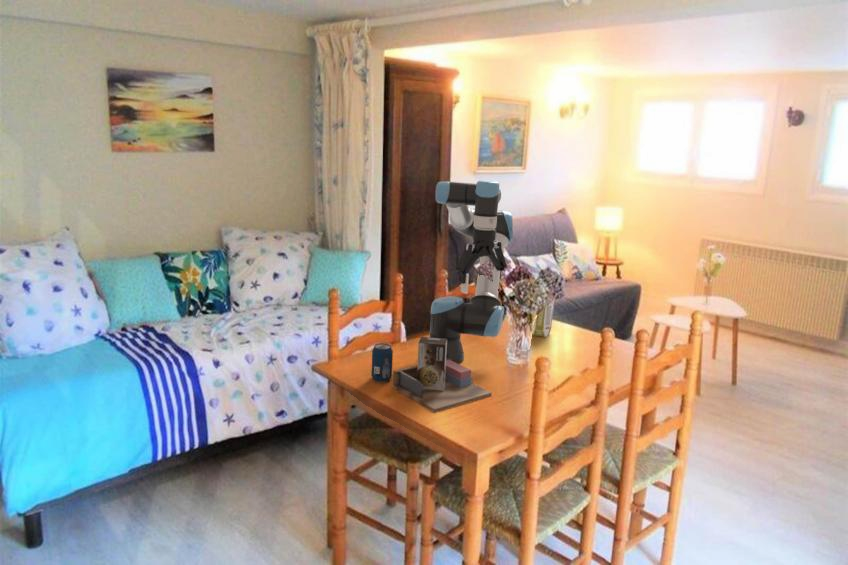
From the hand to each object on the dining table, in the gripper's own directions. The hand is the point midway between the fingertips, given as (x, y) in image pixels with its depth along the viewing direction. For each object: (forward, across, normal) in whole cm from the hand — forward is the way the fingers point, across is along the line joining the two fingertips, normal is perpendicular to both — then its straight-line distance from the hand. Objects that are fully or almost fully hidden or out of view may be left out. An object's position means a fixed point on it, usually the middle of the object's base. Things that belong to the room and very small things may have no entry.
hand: (480, 290), depth 213 cm
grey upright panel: (+31, -27, -1) cm, 41 cm away
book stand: (+32, -17, -4) cm, 36 cm away
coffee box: (+31, -19, -1) cm, 36 cm away
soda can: (+32, -29, +14) cm, 45 cm away
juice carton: (+33, +58, +26) cm, 72 cm away
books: (+31, -8, 0) cm, 32 cm away
